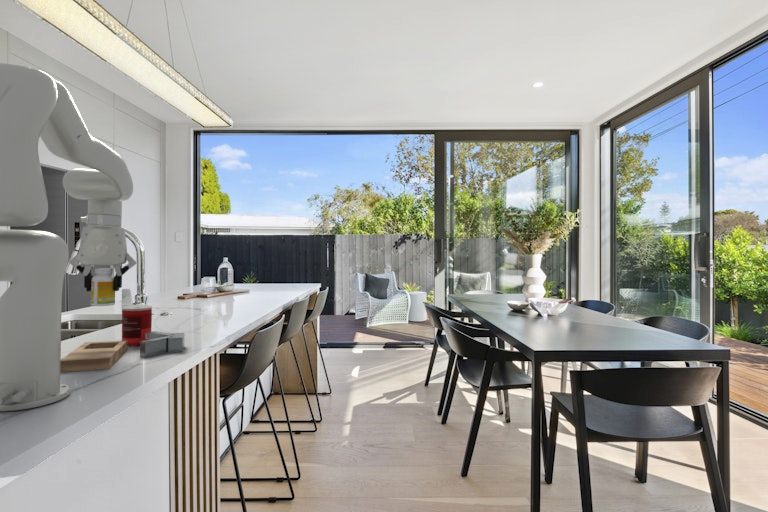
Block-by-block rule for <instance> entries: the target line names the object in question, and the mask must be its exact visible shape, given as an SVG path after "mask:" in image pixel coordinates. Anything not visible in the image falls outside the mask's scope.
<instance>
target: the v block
mask: <svg viewBox="0 0 768 512" xmlns="http://www.w3.org/2000/svg"><path fill="white" fill-rule="evenodd" d="M185 334H186V333H185V332H171V333H170V332H169V333H168V332H163V331H155V330H154V331H153V330H152V331H151V332H148V340H145V341H140V347H139V357H140V358H148V357H153V356H158V355H161V354H167V353H183V351H184V348H185V338H186V337H185Z"/></svg>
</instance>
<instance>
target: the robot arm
mask: <svg viewBox="0 0 768 512" xmlns="http://www.w3.org/2000/svg"><path fill="white" fill-rule="evenodd" d="M80 113H81V112H80V111H79V109H78V107H77V105H76V103H75V102H74V99H73V97H72V95H71V94H70V91H69V90H68V89H67V87H66V86H65V85H64V84H63V83H62V82H60V81H58V80H56V79H54V78H53V77H52V76H51V75H49V74H48V73H46V72H45V71H42V70H40V69H37V68H34V67H29V66H24V65H18V64H12V63H11V64H9V63H2V62H0V227H30V226H36V225H39V224H40V223H43V222H44V221H45V220H46V219H47V218H48V213H49V201H48V200H49V199H48V197H47V191H46V190H47V189H46V185H45V181H44V176H43V172H42V171H43V170H42V166H41V161H40V155H39V148H38V147H39V141H40V139H41V140H42V141H43V142H42V143H43V144H44V145H45V147H46V148H47V150H48V151H49V152H50V153H51V154H52V155H54V156H56V157H58V158H60V159H63V160H66V161H67V162H68V161H69V162H70V163H73V164H77V165H80V166H82V167H83V166H84V167H87V168H73V169H70V170H68V171H67V172H65V174H64V175H63V178H62V187H63V190H64V191H65V193H67V194H68V195H69V196H70V197H71V198H74V199H77V200H86V201H87V214H86V216H81V217H80V222H81V223H85V224H86V226H83V227H82V230H81V235H80V242H79V250H78V253H76V255H74V256H73V257H72V258H71V259H70V260H69V257H70V250H69V245H68V244H67V242H66V241H65V240H64V238H62V237H61V236H59V235H57V234H55V233H54V232H53V233H52V232H50V231H45V230H36V229H35V230H32V229H0V282H8V283H11V284H10V286H9V287H8V288H7V289H6V290H5V291H4V293H3V294H2V295H1V296H0V412H15V411H20V410H21V411H22V410H27V409H33V408H37V407H44V406H46V405H50V404H53V403H56V402H58V401H61V400H63V399H65V398H66V397H68V395H70V393H71V387H70V386H69V385H68V384H65V383H61V372H60V364H61V359H62V357H61V354H62V351H61V350H62V347H61V346H62V306H63V305H62V302H63V300H62V299H63V287H64V280H65V277H66V273H67V267H68V263H69V264H70V265H71V267H74V268H76V270H77V271H79V272H80V273H81V274H82V276H84V277H83V278H84V282H83V283H84V285H83V286H84V288H85V289H86V290H85V291H86V292H91V279H92V278H93V277H94V276H93V274H92V273H93V270H94V269H95V266H113V268H114V272H115V275H114V276H113V277H114V291H115V292H117V291H120V288H122V287H123V275H125V273H126V272H128V271H129V270H130V269H132V268H133V267H135V266H136V265H137V264H138V262H137V261H136V260H135V259H134V258H133V257H132V256H131V255H130V253H128V251H127V249H128V248H127V238H126V231H125V228H123V227H122V216H123V215H122V212H123V211H122V208H123V202H124V201H126V200H129V199H130V198H131V197H132V195H133V194H134V183H133V179H132V175H131V173H130V171H129V169H128V166H127V164H126V162H125V160H124V159H123V158H122V156H121V155H120V154H119V153H117V152H116V151H115V150H114V149H112V148H111V147H110V146H108V145H107V144H105V143H104V142H102V141H100V139H98V138H95V137H93V135H91V134H90V133H89V130H88V128H87V126H86V124H85V121H84V120H83V117H82V116H81V114H80ZM127 262H128V263H127ZM126 263H127V264H126ZM123 264H124V266H122V265H123ZM125 264H126V265H125ZM84 265H85V266H84Z"/></svg>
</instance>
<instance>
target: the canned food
mask: <svg viewBox="0 0 768 512" xmlns="http://www.w3.org/2000/svg"><path fill="white" fill-rule="evenodd" d="M152 315H153V306H152V305H149V304H148V305H146V304H145V305H144V304H142V305H141V304H137V305H135V304H134V305H133V304H132V305H126V306H123V307H122V311H121V341H127V347H139V346H140V341H145V340H148V332H152V320H153V318H152V317H153V316H152Z"/></svg>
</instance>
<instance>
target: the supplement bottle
mask: <svg viewBox="0 0 768 512" xmlns="http://www.w3.org/2000/svg"><path fill="white" fill-rule="evenodd" d="M94 275H95V276H93V278H92V279H91V291H90V306H92V307H109V306H111V307H112V306H115V305H116V291H114V276H112V275H113V268H108V267H104V268H103V267H102V268H99V267H98V268H97V267H96V268H94Z"/></svg>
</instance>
